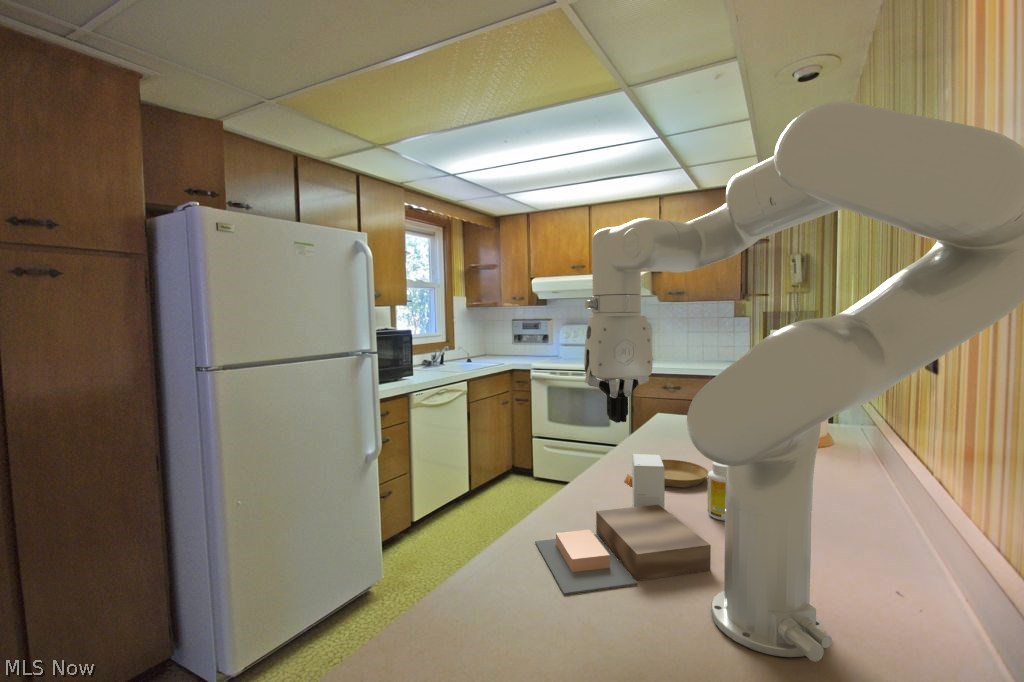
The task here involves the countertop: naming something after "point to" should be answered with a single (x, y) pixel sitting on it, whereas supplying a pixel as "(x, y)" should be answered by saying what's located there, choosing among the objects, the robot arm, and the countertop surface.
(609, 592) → the countertop surface
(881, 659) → the countertop surface
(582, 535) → the peach rectangular slab
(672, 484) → the plant saucer
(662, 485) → the small box
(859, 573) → the countertop surface
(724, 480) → the supplement bottle
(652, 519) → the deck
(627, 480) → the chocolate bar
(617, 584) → the mat
